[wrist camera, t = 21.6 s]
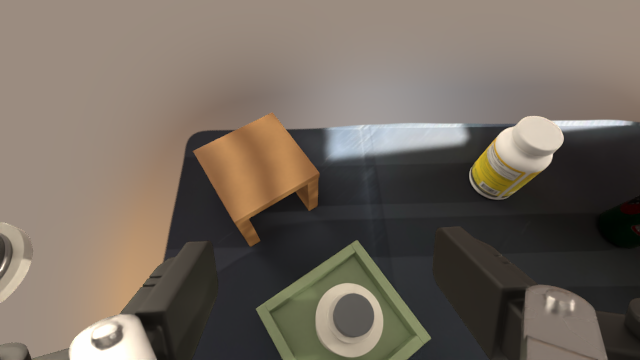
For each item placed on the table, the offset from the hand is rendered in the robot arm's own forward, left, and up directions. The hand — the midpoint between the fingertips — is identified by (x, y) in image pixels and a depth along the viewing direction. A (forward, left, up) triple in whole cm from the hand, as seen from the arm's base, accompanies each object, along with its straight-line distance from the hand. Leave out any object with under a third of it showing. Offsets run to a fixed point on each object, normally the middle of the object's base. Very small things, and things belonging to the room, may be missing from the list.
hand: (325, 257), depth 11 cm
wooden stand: (+2, +16, -26) cm, 31 cm away
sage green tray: (+1, -2, -26) cm, 26 cm away
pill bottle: (+29, +1, -26) cm, 40 cm away
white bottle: (+1, -2, -25) cm, 25 cm away
